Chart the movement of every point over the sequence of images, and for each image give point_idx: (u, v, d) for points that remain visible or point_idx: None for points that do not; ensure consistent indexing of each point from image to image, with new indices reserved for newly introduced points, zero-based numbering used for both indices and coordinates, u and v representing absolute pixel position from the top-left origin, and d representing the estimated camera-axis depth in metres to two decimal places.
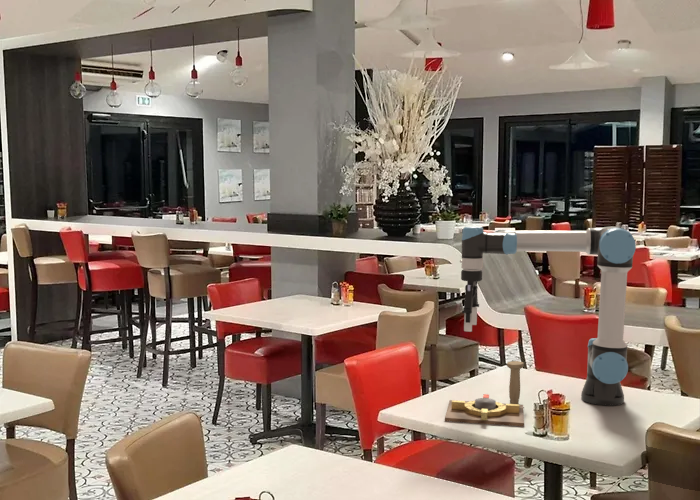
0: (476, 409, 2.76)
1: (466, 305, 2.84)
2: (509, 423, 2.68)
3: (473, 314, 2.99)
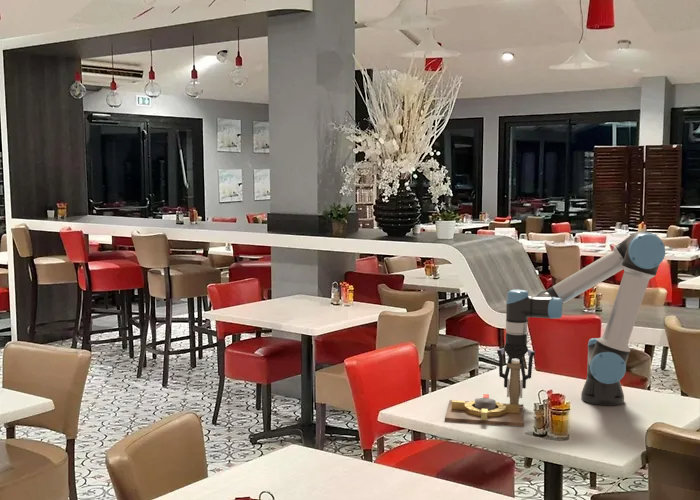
0: (476, 409, 2.76)
1: None
2: (509, 423, 2.68)
3: (520, 386, 2.93)
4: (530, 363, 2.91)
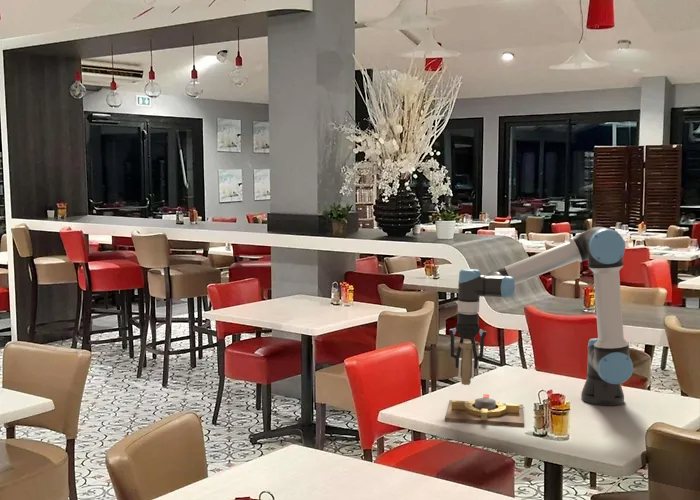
0: (476, 409, 2.76)
1: None
2: (509, 423, 2.68)
3: None
4: (482, 343, 2.87)
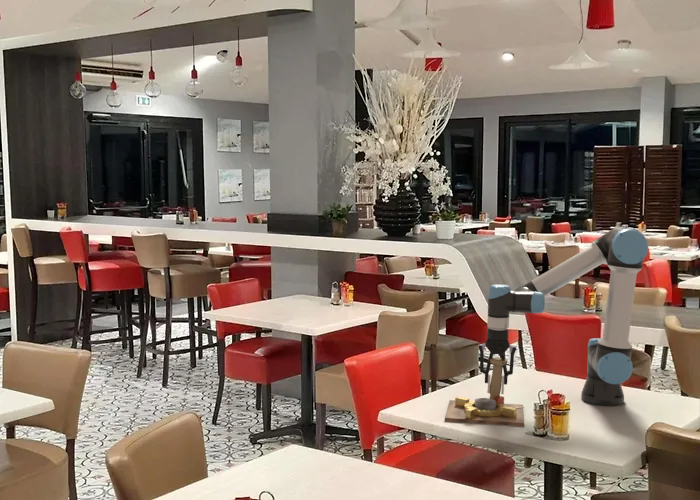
0: (470, 407, 2.78)
1: None
2: (509, 423, 2.68)
3: None
4: (512, 359, 2.87)
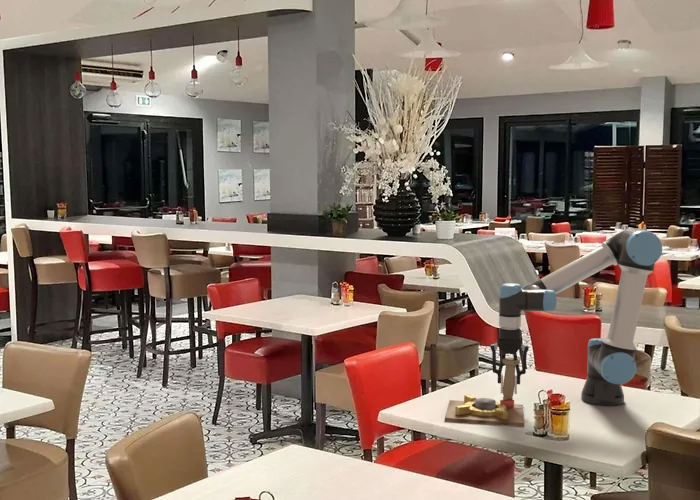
0: (468, 405, 2.81)
1: None
2: (509, 423, 2.68)
3: None
4: (524, 358, 2.84)
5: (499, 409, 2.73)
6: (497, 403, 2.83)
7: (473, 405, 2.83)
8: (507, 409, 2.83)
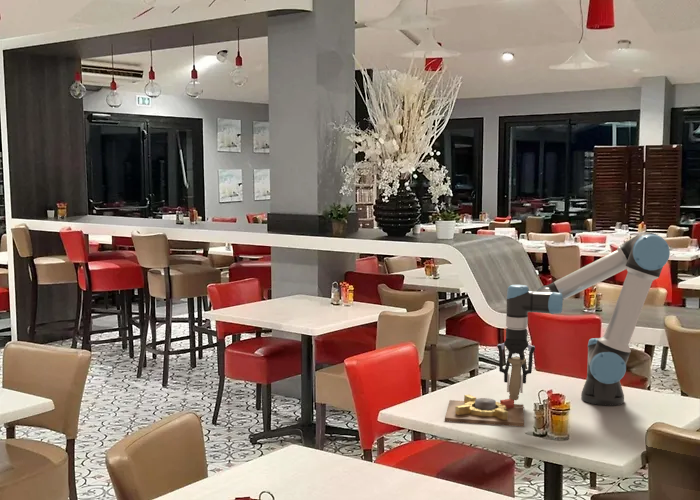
0: (468, 405, 2.81)
1: None
2: (509, 423, 2.68)
3: None
4: (530, 358, 2.90)
5: (499, 409, 2.73)
6: (497, 403, 2.83)
7: (473, 405, 2.83)
8: (507, 409, 2.83)
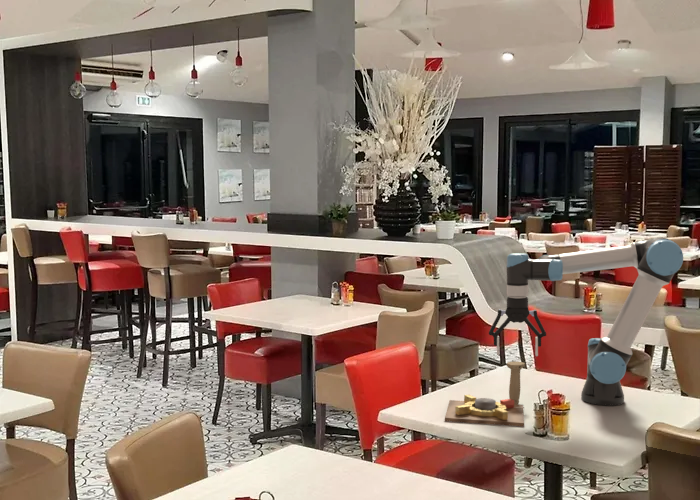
0: (468, 405, 2.81)
1: (491, 327, 2.94)
2: (509, 423, 2.68)
3: (535, 344, 2.91)
4: (538, 322, 2.89)
5: (499, 409, 2.73)
6: (497, 403, 2.83)
7: (473, 405, 2.83)
8: (507, 409, 2.83)
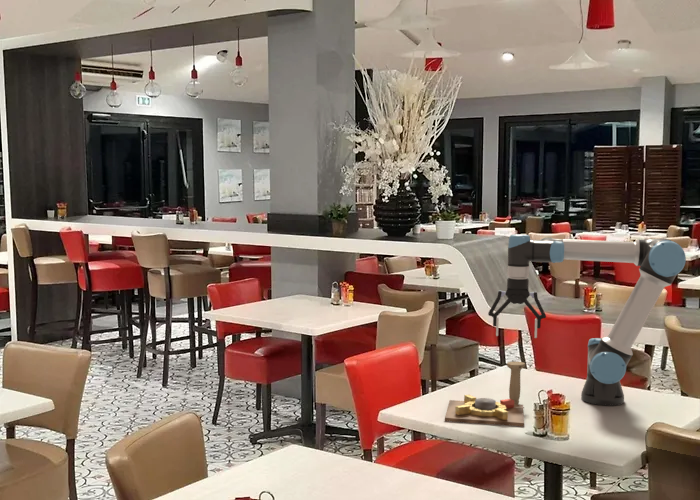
0: (468, 405, 2.81)
1: None
2: (509, 423, 2.68)
3: None
4: (538, 303, 2.88)
5: (499, 409, 2.73)
6: (497, 403, 2.83)
7: (473, 405, 2.83)
8: (507, 409, 2.83)
